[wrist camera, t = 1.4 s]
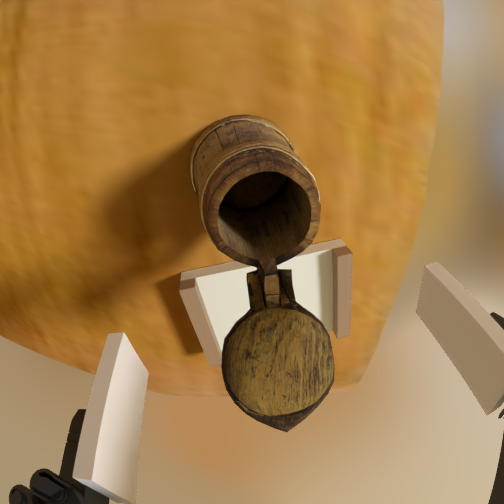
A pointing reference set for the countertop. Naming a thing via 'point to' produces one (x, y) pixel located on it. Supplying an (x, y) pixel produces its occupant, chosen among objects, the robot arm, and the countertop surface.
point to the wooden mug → (264, 266)
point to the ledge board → (237, 299)
